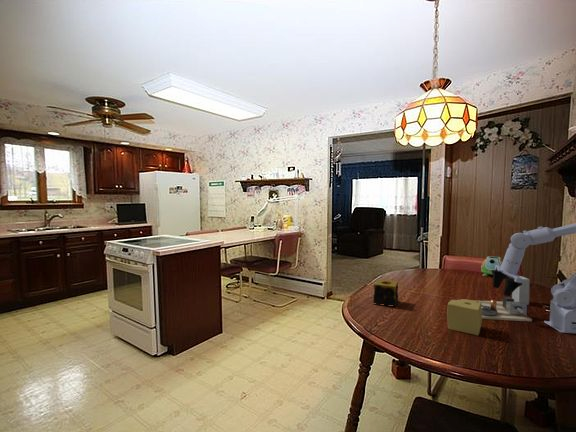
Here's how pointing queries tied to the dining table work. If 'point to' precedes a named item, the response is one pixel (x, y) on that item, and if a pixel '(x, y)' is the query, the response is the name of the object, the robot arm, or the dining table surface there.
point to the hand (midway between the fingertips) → (500, 291)
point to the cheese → (464, 316)
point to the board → (503, 313)
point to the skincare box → (522, 292)
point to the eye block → (511, 308)
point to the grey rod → (511, 301)
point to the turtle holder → (490, 264)
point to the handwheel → (490, 309)
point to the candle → (385, 292)
